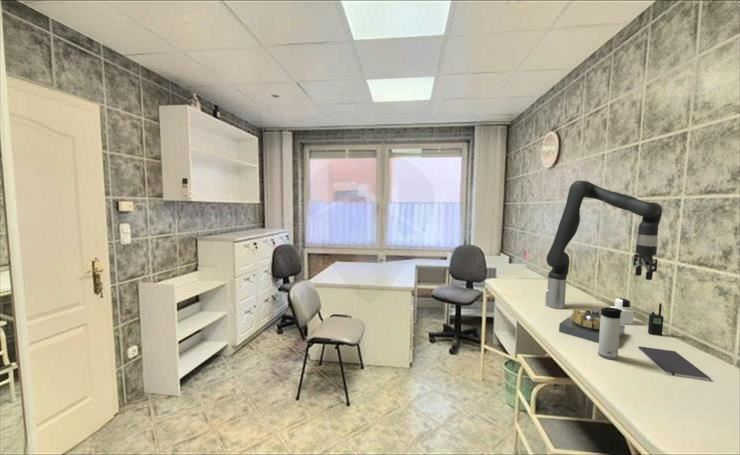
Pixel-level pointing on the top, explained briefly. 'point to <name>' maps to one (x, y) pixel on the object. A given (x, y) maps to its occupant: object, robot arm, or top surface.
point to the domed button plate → (584, 328)
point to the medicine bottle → (624, 310)
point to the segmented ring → (580, 319)
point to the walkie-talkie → (656, 323)
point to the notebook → (673, 363)
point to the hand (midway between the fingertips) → (643, 277)
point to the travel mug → (609, 333)
